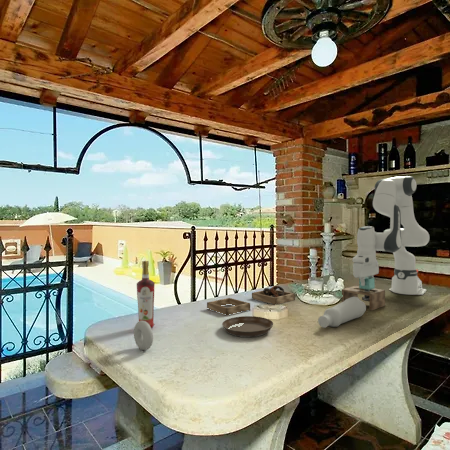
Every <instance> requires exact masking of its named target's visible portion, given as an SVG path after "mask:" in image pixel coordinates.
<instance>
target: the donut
mask: <svg viewBox="0 0 450 450" xmlns="http://www.w3.org/2000/svg"><path fill="white" fill-rule="evenodd" d="M133 328H134V329H133V338H134V341H135V344H136V347H138V348H139V350H141V349H142V351H147V350H149V349H150V348H151V347H152V345H153V342H154V332H153V330H152V328H151V327H150V325H149V324H148V323H147V322H146V321H139V320H138V321H137V322H136V323H135V326H134V327H133Z"/></svg>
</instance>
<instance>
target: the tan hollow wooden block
mask: <svg viewBox="0 0 450 450" xmlns="http://www.w3.org/2000/svg"><path fill="white" fill-rule="evenodd" d="M342 295H343V297H342ZM358 295H363V296H364V295H368V296H369V301H368V302H369V304H368V305H369V311H374V310H377V309H380V308H382V307H385V306H386V290H385V289H379V288H374V289H371V290H370V292H366V291H364V289H360V288H359V285H353V286H348V287H345V288H341V302H343V301H345V300H346V299H348V298H351V297H358V298H359V296H358Z"/></svg>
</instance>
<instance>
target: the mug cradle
mask: <svg viewBox="0 0 450 450" xmlns="http://www.w3.org/2000/svg"><path fill="white" fill-rule="evenodd" d="M275 291H276V292H277V294H278V293H282V292H283V291H281V290H280V289H277V290H275ZM266 293H268V292H267V291H266ZM295 297H296V294H295V293H293V292H288V291H284V296H280V297H275V296H267V295H265V294H264V292H263V290H259V291H253V292H251V299H252V298H253V299H252V300H255V299H256V301H260V302H263V303H267V304H271V303H272V305H275V304H276V305H280V304H284V303H288V302H291V301H295V300H296V298H295Z"/></svg>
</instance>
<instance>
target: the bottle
mask: <svg viewBox="0 0 450 450" xmlns="http://www.w3.org/2000/svg"><path fill="white" fill-rule="evenodd" d="M366 310H367V306H366V303H365V302H364V300H362V299H360V298H359V296H358V297H351V298H348V299H346V300H345V301H343V302H342V301H341V302H339V303H338V304H336V305H334V306H332V307H328V308H326V309H325V310H324V313H323V315H320V316H318V319H317V322H318V325H319V326H320V327H321V328H327V327H332V328H337V327H339V326H340V325H341V324H345V323H347V322H349V321H352V320H355V319H358V318H360V317H362V316H363V315H364V313H365V312H366Z"/></svg>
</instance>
